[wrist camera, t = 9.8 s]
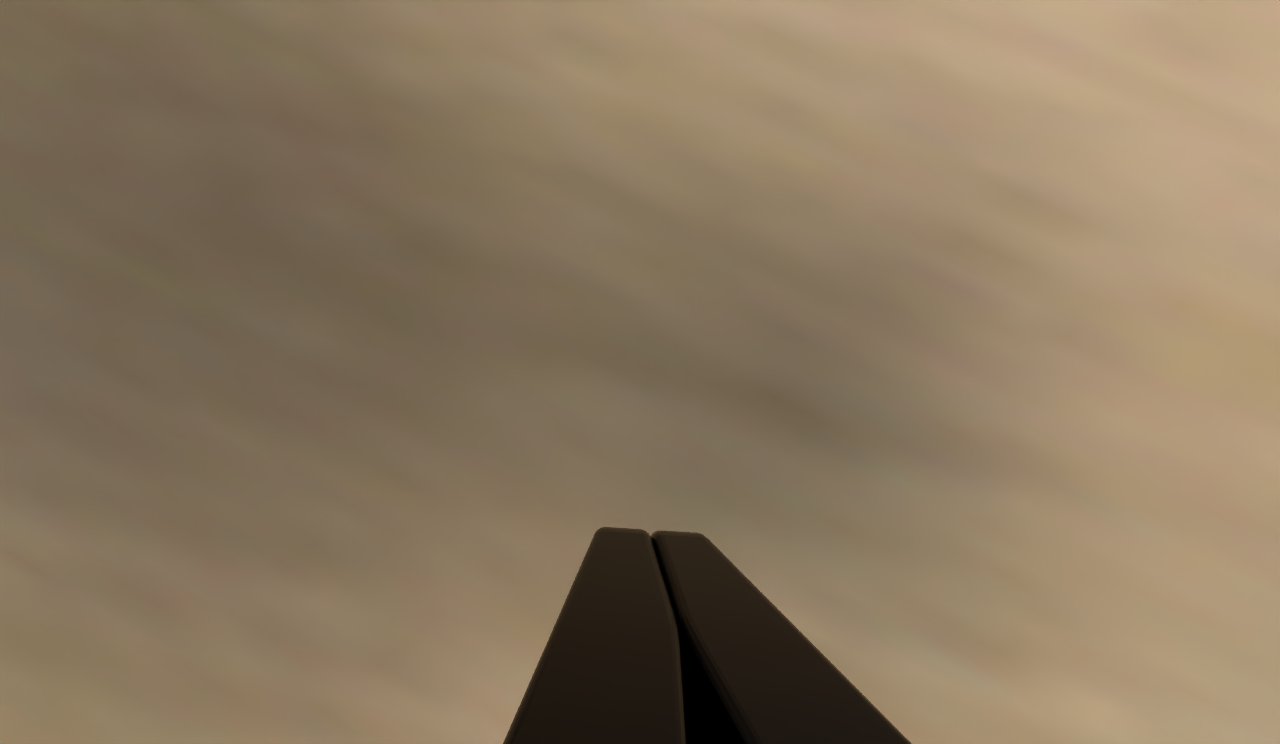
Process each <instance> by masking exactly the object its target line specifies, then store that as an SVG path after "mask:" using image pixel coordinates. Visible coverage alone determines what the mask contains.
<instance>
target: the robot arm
mask: <svg viewBox="0 0 1280 744" xmlns="http://www.w3.org/2000/svg"><path fill="white" fill-rule="evenodd" d="M503 744H911V743H910V742H909V741H908V740H907V739H906V738H905V737H904V736H903V735H902V734H901V733H900V732H899V731H898V730H897V729H896V728H895V727H894V726H893V725H892V724H891V723H890V722H889V721H888V720H887V719H886V718H885V716H884V715H883V714H882V713H881V712H880V711H879V710H878V709H877V708H876V707H875V706H874V705H873V704H872V703H871V702H870V701H869V700H868V699H867V698H866V697H865V696H864V695H863V694H862V693H861V692H860V691H859V690H858V689H857V688H856V687H855V686H854V685H853V684H852V683H851V682H850V681H849V680H848V679H847V678H846V677H845V676H844V675H843V674H842V673H841V672H840V671H839V670H838V669H837V668H836V667H835V666H834V665H833V664H832V663H831V662H830V661H829V660H828V659H827V658H826V657H825V656H824V655H823V654H822V653H821V652H820V651H819V650H818V649H817V648H816V647H815V646H814V645H813V644H812V643H811V642H810V641H809V640H808V639H807V638H806V637H805V636H804V635H803V634H802V633H801V632H800V631H799V630H798V629H797V628H796V627H795V626H794V625H793V624H792V623H791V622H790V621H789V620H788V619H787V618H786V617H785V616H784V615H783V614H782V613H781V612H780V611H779V610H778V609H777V608H776V607H775V606H774V605H773V604H772V603H771V602H770V601H769V600H768V599H767V598H766V597H765V596H764V595H763V594H762V593H761V592H760V591H759V590H758V589H757V588H756V587H755V586H754V585H753V584H752V583H751V582H750V581H749V580H748V579H747V578H746V577H745V576H744V575H743V574H742V573H741V572H740V571H739V570H738V569H737V568H736V567H735V566H734V565H733V564H732V563H731V562H730V561H729V560H728V559H727V558H726V557H725V556H724V555H723V554H722V553H721V551H720V550H719V549H718V548H717V547H716V546H715V545H714V544H713V543H712V542H711V541H710V540H709V539H707V538H706V537H705V536H703V535H702V534H699V533H691V532H675V531H656V532H654V533H653V534H652V535H651V536H650V535H649V533H647V532H646V531H644V530H641V529H627V528H611V527H602V528H600V529H598V530H597V531H596V533H595V534H594V537H593V539H592V541H591V544H590V546H589V548H588V550H587V553H586V555H585V557H584V560H583V562H582V564H581V566H580V569H579V571H578V573H577V576H576V578H575V580H574V582H573V585H572V587H571V589H570V592H569V594H568V596H567V599H566V601H565V603H564V605H563V608H562V610H561V612H560V615H559V617H558V619H557V621H556V624H555V626H554V628H553V631H552V633H551V635H550V637H549V640H548V642H547V644H546V647H545V649H544V651H543V653H542V656H541V658H540V660H539V663H538V665H537V667H536V669H535V672H534V674H533V676H532V679H531V681H530V683H529V686H528V688H527V690H526V692H525V695H524V697H523V699H522V702H521V704H520V706H519V708H518V711H517V713H516V715H515V718H514V720H513V722H512V724H511V727H510V729H509V731H508V734H507V736H506V738H505V740H504V743H503Z"/></svg>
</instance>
